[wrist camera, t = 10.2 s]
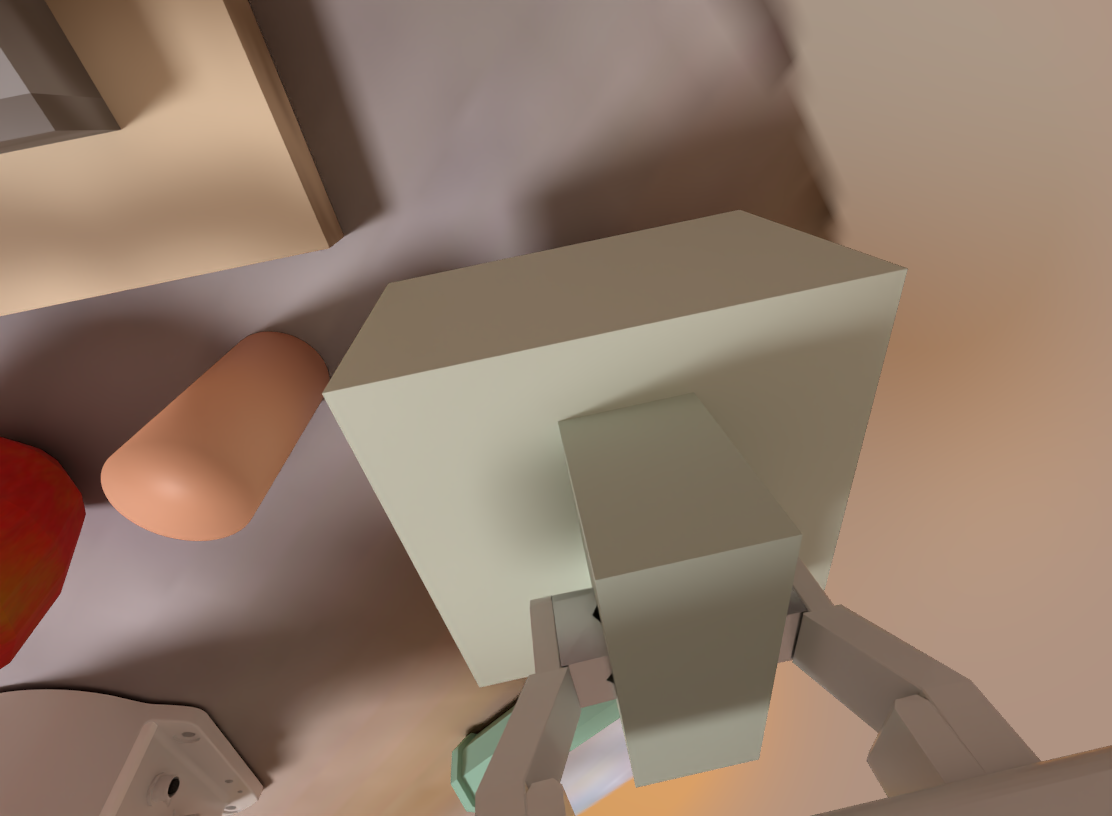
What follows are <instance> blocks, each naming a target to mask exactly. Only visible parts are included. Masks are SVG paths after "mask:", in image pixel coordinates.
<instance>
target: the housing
mask: <svg viewBox="0 0 1112 816" xmlns="http://www.w3.org/2000/svg"><path fill="white" fill-rule="evenodd" d="M907 270H908V269H907V268H905V267H902V266H899V265H896V264H893V263H891V262H888V261H885V260H882V259H879V258H876V257H873V256H871V255H868V254H864V253H862V252H859V251H856V250H853V249H851V248H848V247H845V246H842V245H839V244H836V243H833V242H831V241H828V240H825V239H822V238H819V237H816V236H813V235H811V234H808V233H805V232H802V231H799V230H796V229H793V228H791V227H788V226H785V225H782V224H779V223H776V222H773V221H771V220H768V219H765V218H762V217H759V216H756V215H753V214H751V213H748V212H745V211H742V210H736V211H731V212H726V213H722V214H717V215H712V216H707V217H703V218H698V219H693V220H688V221H684V222H679V223H674V224H669V225H664V226H660V227H655V228H650V229H645V230H641V231H636V232H631V233H626V234H621V235H617V236H612V237H607V238H602V239H598V240H593V241H588V242H583V243H579V244H574V245H569V246H564V247H559V248H555V249H550V250H545V251H540V252H536V253H531V254H526V255H521V256H516V257H512V258H507V259H502V260H497V261H493V262H488V263H483V264H478V265H474V266H469V267H464V268H459V269H454V270H450V271H445V272H440V273H435V274H431V275H426V276H421V277H416V278H411V279H407V280H402V281H397V282H392V283H388V285H387V286H386V288H385V290H384V291H383V293H382V295H381V296H380V298H379V300H378V301H377V303H376V305H375V306H374V308H373V310H372V311H371V313H370V315H369V316H368V318H367V320H366V321H365V323H364V324H363V326H362V328H361V329H360V331H359V333H358V334H357V336H356V338H355V339H354V341H353V343H352V344H351V346H350V348H349V349H348V351H347V353H346V354H345V356H344V358H343V359H342V361H341V363H340V364H339V366H338V368H337V369H336V371H335V373H334V374H333V376H332V378H331V379H330V381H329V382H328V384H327V386H326V387H325V389H324V391H323V392H322V395H323V396H324V398H325V400H326V402H327V404H328V406H329V408H330V410H331V411H332V413H333V415H334V417H335V419H336V421H337V423H338V424H339V426H340V428H341V430H342V432H343V434H344V436H345V437H346V439H347V441H348V443H349V445H350V447H351V449H352V451H353V452H354V454H355V456H356V458H357V460H358V462H359V464H360V465H361V467H362V469H363V471H364V473H365V475H366V477H367V479H368V480H369V482H370V484H371V486H372V488H373V490H374V492H375V493H376V495H377V497H378V499H379V501H380V503H381V505H382V506H383V508H384V510H385V512H386V514H387V516H388V518H389V520H390V521H391V523H392V525H393V527H394V529H395V531H396V533H397V534H398V536H399V538H400V540H401V542H402V544H403V546H404V547H405V549H406V551H407V553H408V555H409V557H410V559H411V561H412V562H413V564H414V566H415V568H416V570H417V572H418V574H419V575H420V577H421V579H422V581H423V583H424V585H425V587H426V589H427V590H428V592H429V594H430V596H431V598H432V600H433V602H434V603H435V605H436V607H437V609H438V611H439V613H440V615H441V616H442V618H443V620H444V622H445V624H446V626H447V628H448V630H449V631H450V633H451V635H452V637H453V639H454V641H455V643H456V644H457V646H458V648H459V650H460V652H461V654H462V656H463V657H464V659H465V661H466V663H467V665H468V667H469V669H470V671H471V672H472V674H473V676H474V678H475V680H476V682H477V684H478V685H479V687H484V686H489V685H493V684H498V683H502V682H507V681H511V680H515V679H520V678H524V677H528V676H529V675H531V674H535V664H534V653H533V641H532V630H531V619H530V600H533V599H538V598H542V597H546V596H551V595H557V594H562V593H566V592H571V591H576V590H580V589H585V588H590V587H593V589H594V593H595V597H596V602H597V606H598V611H599V616H600V621H601V623H602V628H603V632H604V636H605V641H606V645H607V650H608V654H609V659H610V664H611V669H612V675H613V679H614V684H615V689H616V694H617V699H616V701H617V706H618V710H619V714H620V719H621V723H622V728H623V732H624V737H625V741H626V746H627V750H628V755H629V759H630V763H631V768H632V772H633V777H634V781H635V786H636V787H640V786H645V785H649V784H654V783H658V782H662V781H667V780H671V779H676V778H680V777H684V776H688V775H693V774H697V773H702V772H706V771H710V770H714V769H718V768H723V767H727V766H732V765H736V764H741V763H745V762H749V761H753V760H758V759H759V756H760V751H761V746H762V740H763V735H764V730H765V725H766V719H767V714H768V710H769V704H770V699H771V694H772V689H773V684H774V678H775V673H776V668H777V663H778V658H779V653H780V648H781V643H782V637H783V632H784V627H785V622H786V617H787V612H788V606H789V601H790V596H791V591H792V586H793V581H794V575H795V570H796V565H797V560H798V556H799V558H800V559H801V561H802V562H803V563H804V565H805V566H806V567H807V569H808V570H809V571H810V573H811V574H812V576H813V577H814V578H815V580H816V581H817V582H818V584H819V585H820V587H821V588H822V589H823V591H824V590H825V586H826V582H827V578H828V574H829V571H830V566H831V563H832V559H833V555H834V551H835V548H836V543H837V540H838V536H839V532H840V528H841V524H842V521H843V516H844V513H845V509H846V505H847V501H848V497H849V494H850V490H851V485H852V482H853V478H854V474H855V470H856V467H857V463H858V458H859V455H860V451H861V447H862V443H863V440H864V435H865V432H866V428H867V424H868V420H869V416H870V413H871V409H872V405H873V401H874V397H875V393H876V389H877V386H878V382H879V378H880V374H881V370H882V366H883V362H884V358H885V355H886V351H887V347H888V343H889V339H890V335H891V331H892V328H893V324H894V320H895V316H896V312H897V309H898V305H899V301H900V297H901V293H902V289H903V285H904V282H905V277H906V274H907Z"/></svg>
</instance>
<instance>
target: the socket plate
mask: <svg viewBox="0 0 1112 816" xmlns="http://www.w3.org/2000/svg"><path fill="white" fill-rule="evenodd" d="M343 237H344V235H343V232H342V230H341V228H340V225H339V223H338V220H337V218H336V215H335V213H334V210H333V208H332V205H331V203H330V201H329V198H328V196H327V193H326V191H325V188H324V186H323V183H322V181H321V179H320V176H319V174H318V171H317V169H316V166H315V164H314V161H313V159H312V156H311V154H310V152H309V149H308V147H307V144H306V142H305V139H304V137H303V134H302V132H301V130H300V127H299V125H298V122H297V120H296V117H295V115H294V112H293V110H292V107H291V105H290V103H289V100H288V98H287V95H286V93H285V90H284V88H283V85H282V83H281V80H280V78H279V76H278V73H277V71H276V68H275V66H274V63H273V61H272V58H271V56H270V54H269V51H268V49H267V46H266V44H265V41H264V39H263V36H262V34H261V31H260V29H259V27H258V24H257V22H256V19H255V17H254V14H253V12H252V9H251V7H250V5H249V2H248V0H0V316H4V315H8V314H13V313H18V312H23V311H28V310H33V309H38V308H42V307H47V306H52V305H57V304H62V303H67V302H71V301H76V300H81V299H86V298H91V297H96V296H100V295H105V294H110V293H115V292H120V291H125V290H129V289H134V288H139V287H144V286H149V285H154V284H159V283H163V282H168V281H173V280H178V279H183V278H188V277H192V276H197V275H202V274H207V273H212V272H217V271H221V270H226V269H231V268H236V267H241V266H246V265H251V264H255V263H260V262H265V261H270V260H275V259H280V258H284V257H289V256H294V255H299V254H304V253H309V252H313V251H318V250H323V249H328V248H330V247H332V246H333V245H334V244H335V243H337V242H338V241H339V240H340V239H342V238H343Z"/></svg>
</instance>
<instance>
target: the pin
mask: <svg viewBox="0 0 1112 816" xmlns="http://www.w3.org/2000/svg"><path fill="white" fill-rule="evenodd" d="M328 382H329V373H328V369H327V367H326V364H325V362H324V361H323V359H322V358H321V356H320V355H319V354H318V353H317V352H316V351H315V350H314V349H313V348H312V347H311V346H310V345H308V344H307V343H305V342H304V341H302V340H300V339H298V338H296V337H294V336H292V335H288V334H285V333H280V332H272V331H268V332H258V333H255V334H252V335H249V336H247V337H246V338H244V339H242V340H241V341H240V342H239V343H238V344H237V345H236V346H235V347H233V348H232V349H231V350H230V351H229V352H228V353H227V354H225V355H224V356H223V357H222V358H221V359H220V360H219V361H218V362H216V363H215V364H214V365H213V366H212V367H211V368H210V369H209V370H207V371H206V372H205V373H204V374H203V375H202V376H201V377H199V378H198V379H197V380H196V381H195V382H194V383H193V384H192V385H190V386H189V387H188V388H187V389H186V390H185V391H184V392H182V393H181V394H180V395H179V396H178V397H177V398H176V399H175V400H173V401H172V402H171V403H170V404H169V405H168V406H167V407H166V408H164V409H163V410H162V411H161V412H160V413H159V414H158V415H156V416H155V417H154V418H153V419H152V420H151V421H150V422H149V423H147V424H146V425H145V426H144V427H143V428H142V429H141V430H139V431H138V432H137V433H136V434H135V435H134V436H133V437H132V438H130V439H129V440H128V441H127V442H126V443H125V444H124V445H123V446H121V447H120V448H119V449H118V450H117V451H116V452H115V453H113V454H112V455H111V456H110V457H109V458H108V459H107V461H106V462H105V463H104V466H103V468H102V472H101V485H102V488H103V491H104V493H105V495H106V497H107V499H108V500H109V502H110V503H111V504H112V505H113V506H114V508H115V509H116V510H117V511H118V512H120V513H121V514H122V515H123V516H124V517H126V518H127V519H128V520H130V521H131V522H133V523H135V524H136V525H138V526H140V527H142V528H144V529H146V530H149V531H151V532H154V533H156V534H159V535H163V536H166V537H170V538H174V539H180V540H189V541H207V540H215V539H220V538H224V537H227V536H230V535H233V534H235V533H236V532H238V531H240V530H241V529H243V528H244V527H245V526H246V525H247V524H248V523H249V522H250V520H251V519H252V517H253V516H254V514H255V512H256V511H257V509H258V507H259V505H260V504H261V502H262V500H263V499H264V497H265V495H266V494H267V492H268V490H269V489H270V487H271V485H272V484H273V482H274V480H275V478H276V477H277V475H278V473H279V472H280V470H281V468H282V467H283V465H284V463H285V462H286V460H287V458H288V457H289V455H290V453H291V452H292V450H293V448H294V446H295V445H296V443H297V441H298V440H299V438H300V436H301V435H302V433H303V431H304V430H305V428H306V426H307V425H308V423H309V421H310V419H311V418H312V416H313V414H314V413H315V411H316V409H317V408H318V406H319V404H320V403H321V401H322V399H323V398H324V396H323V395H322V392H323V391H324V389H325V387H326V386H327V384H328Z"/></svg>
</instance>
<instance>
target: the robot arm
mask: <svg viewBox="0 0 1112 816" xmlns="http://www.w3.org/2000/svg"><path fill="white" fill-rule="evenodd" d="M530 619H531V630H532V641H533V653H534V664H535V674H531V675H529V676H528V678H527V680H526V683H525V685H524V687H523V689H522V692H521V694H520V696H519V698H518V700H517V703H516V705H515V707H514V709H513V711H512V714H511V716H510V718H509V720H508V722H507V725H506V727H505V729H504V731H503V734H502V736H501V738H500V740H499V742H498V745H497V747H496V749H495V751H494V753H493V756H492V758H491V760H490V762H489V764H488V767H487V769H486V771H485V773H484V776H483V778H482V780H481V782H480V784H479V787H478V789H477V791H476V793H475V816H575V814H574V812H573V809H572V807H571V805H570V802H569V800H568V798H567V795H566V793H565V790H564V788H563V786H562V784H560V781H561V778H562V774H563V771H564V768H565V764H566V761H567V758H568V754H569V751H570V748H571V744H572V741H573V737H574V734H575V731H576V727H577V724H578V721H579V717H580V714H581V708H583V707H587V706H591V705H595V704H599V703H603V702H607V701H610V700H614V699H617V694H616V689H615V684H614V679H613V675H612V669H611V664H610V659H609V654H608V650H607V645H606V641H605V636H604V632H603V628H602V623H601V621H600V616H599V611H598V606H597V602H596V597H595V593H594V589H593V587H590V588H585V589H580V590H576V591H571V592H566V593H562V594H557V595H551V596H546V597H542V598H538V599H533V600H530ZM790 660H793V663H794V664H795V665H796V666H798V667H799V668H800V669H801V670H803V671H804V672H805V673H806V674H807V675H809V676H810V677H811V678H812V679H813V680H815V681H816V682H817V683H818V684H820V685H821V686H822V687H823V688H824V689H826V690H827V691H828V692H829V693H831V694H832V695H833V696H834V697H835V698H837V699H838V700H839V701H840V702H841V703H843V704H844V705H845V706H846V707H847V708H849V709H850V710H851V711H852V712H854V713H855V714H856V715H857V716H858V717H860V718H861V719H862V720H863V721H865V722H866V723H867V724H868V725H869V726H871V727H872V728H873V729H874V730H876V731H877V732H878V735H877V737H876V739H875V741H874V743H873V745H872V747H871V749H870V751H869V754H868V757H867V762H868V764H869V766H870V768H871V769H872V771H873V773H874V774H875V776H876V778H877V780H878V781H879V783H880V785H881V786H882V788H883V790H884V792H885V793H886V795H887V797H888V798H884V799H880V800H876V801H872V802H868V803H863V804H859V805H854V806H850V807H846V808H842V809H838V810H833V811H829V812H824V813H820V814H816V815H812V816H1112V745H1110V746H1106V747H1102V748H1098V749H1094V750H1089V751H1085V752H1081V753H1076V754H1072V755H1068V756H1064V757H1060V758H1055V759H1051V760H1046V761H1042V762H1041V761H1040V759H1039V758H1038V757H1037V756H1036V755H1035V754H1034V753H1033V751H1032V750H1031V749H1030V748H1029V747H1028V746H1027V744H1026V743H1025V742H1024V741H1023V740H1022V739H1021V737H1019V735H1018V734H1017V733H1016V732H1015V731H1014V729H1013V728H1012V727H1011V726H1010V725H1009V724H1008V723H1007V721H1006V720H1005V719H1004V718H1003V717H1002V716H1001V714H1000V713H999V712H998V711H997V710H996V709H995V708H994V706H993V705H992V704H991V703H990V702H989V701H988V700H987V698H986V697H985V696H984V695H983V694H982V693H981V691H980V690H979V689H978V688H977V687H976V686H975V685H974V684H973V682H972V681H971V680H970V679H968V678H966V677H964V676H962V675H961V674H959V673H957V672H956V671H954V670H952V669H950V668H949V667H947V666H945V665H944V664H942V663H940V662H939V661H937V660H935V659H934V658H932V657H930V656H928V655H927V654H925V653H923V652H921V651H920V650H918V649H916V648H915V647H913V646H911V645H910V644H908V643H906V642H904V641H903V640H901V639H899V638H897V637H896V636H894V635H892V634H891V633H889V632H887V631H886V630H884V629H882V628H880V627H879V626H877V625H875V624H874V623H872V622H870V621H868V620H867V619H865V618H863V617H862V616H860V615H858V614H856V613H855V612H853V611H851V610H850V609H848V608H846V607H844V606H843V605H836V606H834V604H833V603H832V602H831V600H830V599H829V598H828V596H827V595H826V593H825V592H824V591H823V589H822V588H821V587H820V585H819V584H818V582H817V581H816V580H815V578H814V577H813V576H812V574H811V573H810V571H809V570H808V569H807V567H806V566H805V565H804V563H803V562H802V561H801V559H800V558H799V556H798V560H797V565H796V570H795V575H794V581H793V586H792V591H791V596H790V601H789V606H788V612H787V617H786V622H785V627H784V632H783V637H782V643H781V648H780V653H779V658H778V663H779V662H785V661H790ZM262 790H263V786H262V784H261V783H260V782H259V780H258V779H257V778H256V777H255V775H254V774H253V773H252V771H251V770H250V769H249V767H248V766H247V765H246V764H245V762H244V761H243V760H242V758H241V757H240V756H239V755H238V753H237V752H236V751H235V749H234V748H233V747H232V745H231V744H230V743H229V742H228V740H227V739H226V738H225V736H224V735H223V734H222V733H221V731H220V730H219V729H218V727H217V726H216V725H215V723H214V722H213V721H212V720H211V718H210V717H209V716H208V714H207V713H206V712H205V711H203V710H201V709H198V708H195V707H189V706H178V705H160V704H148V703H143V702H138V701H133V700H129V699H125V698H120V697H116V696H111V695H105V694H99V693H92V692H84V691H74V690H53V689H41V690H21V691H11V692H4V693H0V816H230V815H233V814H235V813H238V812H240V811H242V810H244V809H246V808H248V807H250V806H251V805H253V804H254V803H256V802H257V801H258V800H259V797H260V795H261V793H262Z"/></svg>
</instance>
